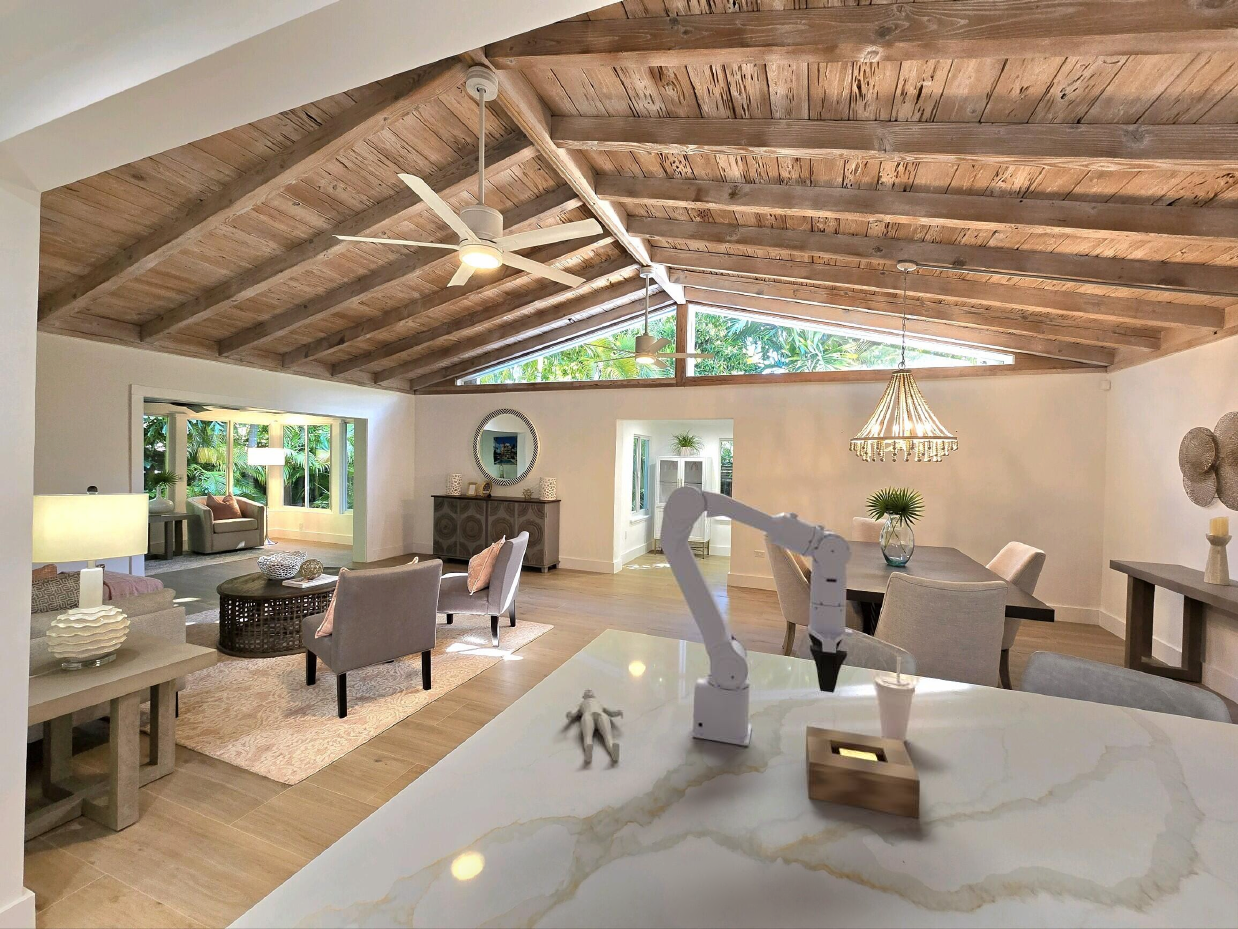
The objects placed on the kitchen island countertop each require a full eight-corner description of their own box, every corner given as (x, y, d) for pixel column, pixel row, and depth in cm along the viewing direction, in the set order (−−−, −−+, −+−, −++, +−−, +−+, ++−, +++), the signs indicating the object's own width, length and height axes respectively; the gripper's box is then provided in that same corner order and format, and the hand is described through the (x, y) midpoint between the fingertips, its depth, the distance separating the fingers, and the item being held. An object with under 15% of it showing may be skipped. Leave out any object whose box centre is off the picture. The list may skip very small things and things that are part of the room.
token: (840, 787, 82) (840, 756, 82) (838, 778, 84) (839, 748, 84) (877, 793, 80) (878, 762, 80) (874, 784, 83) (875, 753, 83)
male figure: (570, 739, 86) (562, 685, 108) (569, 765, 86) (561, 706, 108) (635, 737, 88) (614, 684, 109) (634, 761, 87) (613, 704, 109)
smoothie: (919, 748, 94) (921, 665, 95) (878, 743, 96) (880, 661, 96) (907, 731, 101) (909, 653, 101) (869, 727, 102) (871, 650, 102)
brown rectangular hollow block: (808, 797, 79) (809, 761, 79) (805, 757, 90) (806, 726, 90) (918, 818, 75) (919, 780, 75) (901, 773, 86) (902, 740, 86)
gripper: (857, 614, 87) (855, 702, 87) (849, 596, 101) (847, 672, 100) (809, 610, 89) (807, 695, 89) (807, 592, 103) (805, 667, 103)
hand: (825, 683), depth 95 cm, fingers open, 7 cm apart
